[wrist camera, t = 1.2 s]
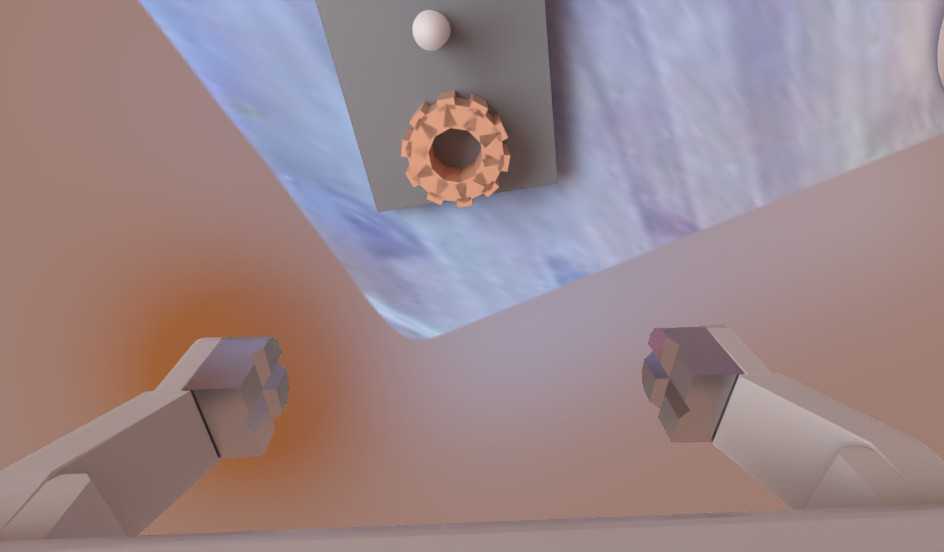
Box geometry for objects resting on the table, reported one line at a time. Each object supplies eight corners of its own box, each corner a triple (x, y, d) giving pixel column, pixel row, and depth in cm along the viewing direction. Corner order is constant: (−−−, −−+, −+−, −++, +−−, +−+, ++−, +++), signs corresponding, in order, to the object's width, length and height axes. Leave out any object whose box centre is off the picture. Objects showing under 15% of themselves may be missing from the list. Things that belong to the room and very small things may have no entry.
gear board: (519, -260, 22) (538, -358, 16) (552, 173, 33) (571, 206, 27) (267, -199, 23) (202, -272, 17) (382, 202, 33) (365, 238, 28)
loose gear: (498, 82, 28) (502, 88, 25) (511, 183, 31) (515, 198, 28) (396, 101, 28) (389, 109, 25) (419, 198, 31) (415, 214, 29)
